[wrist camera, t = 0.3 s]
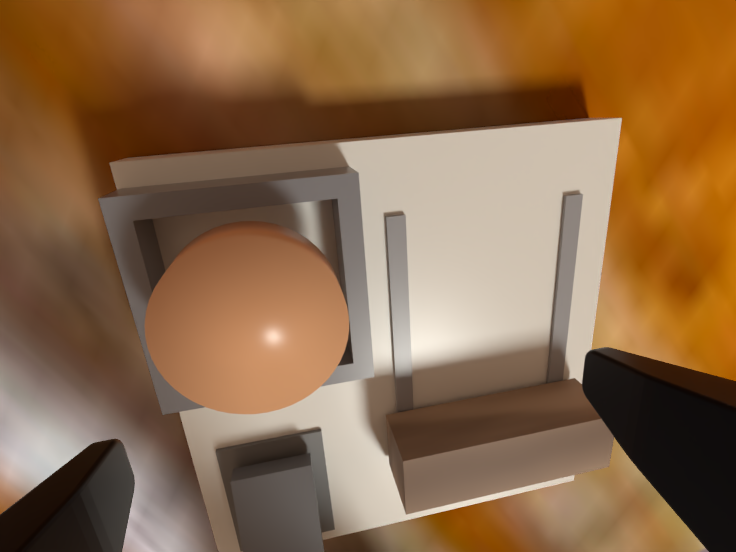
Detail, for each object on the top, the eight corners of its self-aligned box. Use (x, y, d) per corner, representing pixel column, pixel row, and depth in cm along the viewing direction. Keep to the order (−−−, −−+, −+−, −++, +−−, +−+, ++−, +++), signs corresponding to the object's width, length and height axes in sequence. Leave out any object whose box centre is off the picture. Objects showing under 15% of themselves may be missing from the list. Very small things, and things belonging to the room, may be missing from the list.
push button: (347, 364, 16) (356, 395, 15) (184, 393, 16) (171, 430, 14) (331, 211, 14) (339, 224, 12) (140, 232, 13) (119, 251, 12)
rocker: (323, 547, 21) (325, 563, 20) (250, 564, 20) (248, 582, 19) (310, 452, 20) (311, 465, 19) (233, 468, 19) (230, 481, 18)
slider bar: (569, 425, 23) (608, 466, 20) (388, 463, 21) (406, 514, 19) (574, 377, 22) (617, 415, 19) (385, 414, 20) (403, 461, 18)
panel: (553, 455, 27) (597, 508, 23) (225, 529, 24) (216, 604, 20) (589, 117, 20) (661, 117, 16) (127, 157, 17) (85, 168, 13)
